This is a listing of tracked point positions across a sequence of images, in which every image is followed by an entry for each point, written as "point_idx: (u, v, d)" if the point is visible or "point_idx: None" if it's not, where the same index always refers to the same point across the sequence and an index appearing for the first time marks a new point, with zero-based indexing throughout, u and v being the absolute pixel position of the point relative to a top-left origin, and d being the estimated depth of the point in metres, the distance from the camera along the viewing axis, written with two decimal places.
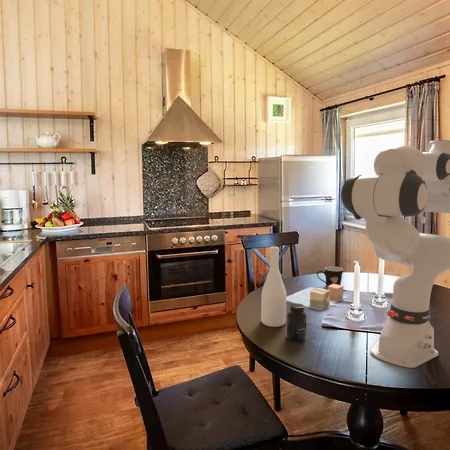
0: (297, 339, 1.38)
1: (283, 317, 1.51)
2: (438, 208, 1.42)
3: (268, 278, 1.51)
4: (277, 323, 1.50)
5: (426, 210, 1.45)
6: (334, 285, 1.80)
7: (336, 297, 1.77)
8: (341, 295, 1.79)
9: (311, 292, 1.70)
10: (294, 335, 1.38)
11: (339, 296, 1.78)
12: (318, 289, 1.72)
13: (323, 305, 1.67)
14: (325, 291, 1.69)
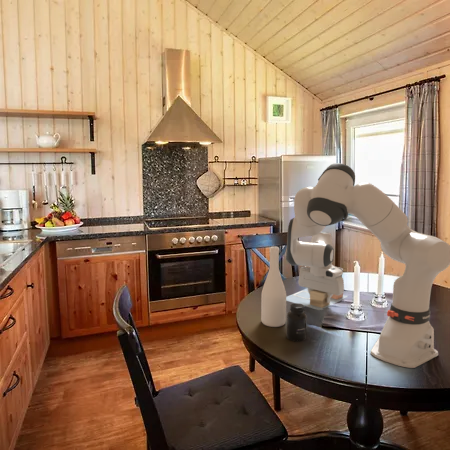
0: (297, 339, 1.38)
1: (283, 317, 1.51)
2: (319, 287, 1.68)
3: (268, 278, 1.51)
4: (277, 323, 1.50)
5: (311, 288, 1.71)
6: None
7: (336, 297, 1.77)
8: (341, 295, 1.79)
9: (311, 292, 1.70)
10: (294, 335, 1.38)
11: (339, 296, 1.78)
12: None
13: (323, 305, 1.67)
14: None
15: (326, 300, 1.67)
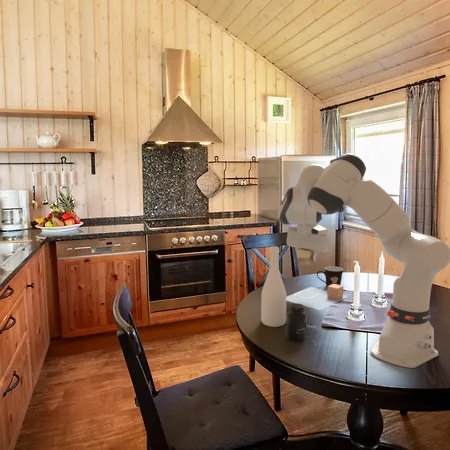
0: (297, 339, 1.38)
1: (283, 317, 1.51)
2: (305, 245, 1.77)
3: (268, 278, 1.51)
4: (277, 323, 1.50)
5: (298, 247, 1.80)
6: (334, 285, 1.80)
7: (336, 297, 1.77)
8: (341, 295, 1.79)
9: (298, 250, 1.79)
10: (294, 335, 1.38)
11: (339, 296, 1.78)
12: None
13: (309, 262, 1.77)
14: None
15: (312, 257, 1.77)
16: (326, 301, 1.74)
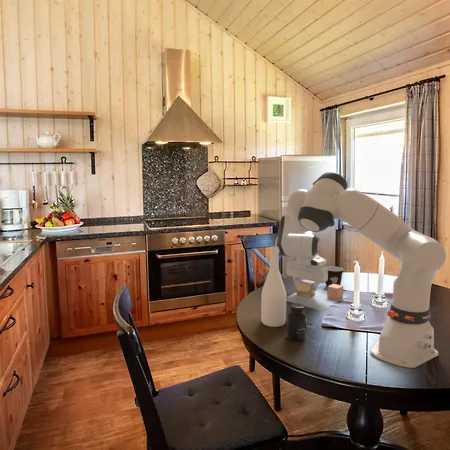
0: (297, 339, 1.38)
1: (283, 317, 1.51)
2: (305, 276, 1.80)
3: (268, 278, 1.51)
4: (277, 323, 1.50)
5: (297, 276, 1.83)
6: (334, 285, 1.80)
7: (336, 297, 1.77)
8: (341, 295, 1.79)
9: (297, 283, 1.82)
10: (294, 335, 1.38)
11: (339, 296, 1.78)
12: (304, 281, 1.83)
13: (308, 295, 1.79)
14: (310, 283, 1.81)
15: (313, 288, 1.78)
16: (326, 301, 1.74)
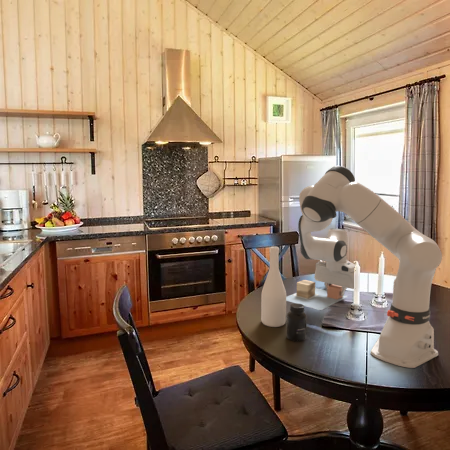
0: (297, 339, 1.38)
1: (283, 317, 1.51)
2: (335, 281, 1.77)
3: (268, 278, 1.51)
4: (277, 323, 1.50)
5: (326, 282, 1.80)
6: (334, 285, 1.80)
7: (336, 297, 1.77)
8: None
9: (297, 283, 1.82)
10: (294, 335, 1.38)
11: (339, 296, 1.78)
12: (304, 281, 1.83)
13: (308, 295, 1.79)
14: (310, 283, 1.81)
15: (340, 293, 1.77)
16: (326, 301, 1.74)
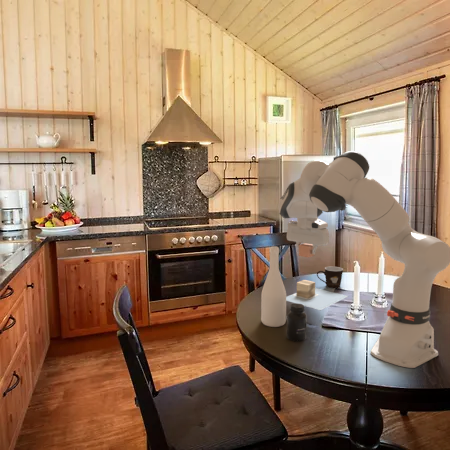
0: (297, 339, 1.38)
1: (283, 317, 1.51)
2: (306, 239, 1.77)
3: (268, 278, 1.51)
4: (277, 323, 1.50)
5: (298, 241, 1.80)
6: (305, 244, 1.80)
7: (307, 255, 1.77)
8: (312, 254, 1.79)
9: (297, 283, 1.82)
10: (294, 335, 1.38)
11: (310, 254, 1.78)
12: (304, 281, 1.83)
13: (308, 295, 1.79)
14: (310, 283, 1.81)
15: (311, 251, 1.77)
16: (326, 301, 1.74)
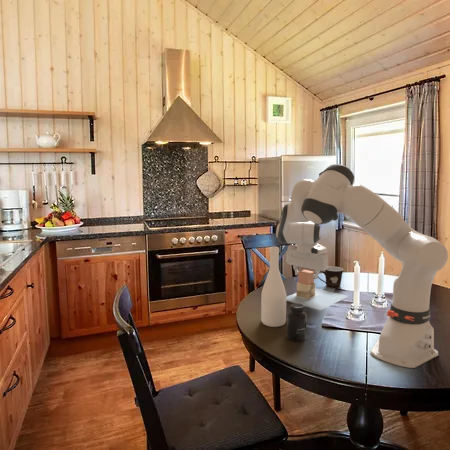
0: (297, 339, 1.38)
1: (283, 317, 1.51)
2: (305, 264, 1.79)
3: (268, 278, 1.51)
4: (277, 323, 1.50)
5: (297, 265, 1.82)
6: (305, 271, 1.82)
7: (306, 282, 1.79)
8: (312, 281, 1.81)
9: (297, 283, 1.82)
10: (294, 335, 1.38)
11: (310, 281, 1.80)
12: None
13: (308, 295, 1.79)
14: None
15: (314, 276, 1.77)
16: (326, 301, 1.74)
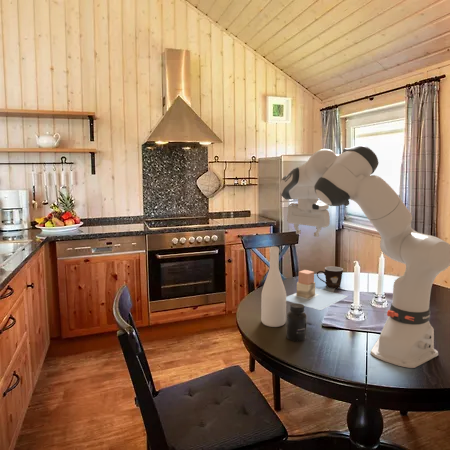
0: (297, 339, 1.38)
1: (283, 317, 1.51)
2: (306, 222, 1.76)
3: (268, 278, 1.51)
4: (277, 323, 1.50)
5: (298, 223, 1.79)
6: (305, 271, 1.82)
7: (306, 282, 1.79)
8: (312, 281, 1.81)
9: (297, 283, 1.82)
10: (294, 335, 1.38)
11: (310, 281, 1.80)
12: None
13: (308, 295, 1.79)
14: None
15: (315, 234, 1.74)
16: (326, 301, 1.74)
